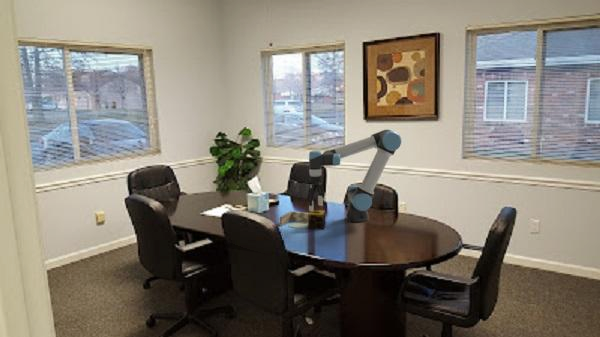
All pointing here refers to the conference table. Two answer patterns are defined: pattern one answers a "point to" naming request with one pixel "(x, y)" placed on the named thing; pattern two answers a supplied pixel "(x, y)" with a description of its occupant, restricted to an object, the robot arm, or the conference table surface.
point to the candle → (316, 219)
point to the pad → (299, 225)
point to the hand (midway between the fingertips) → (315, 208)
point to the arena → (293, 217)
